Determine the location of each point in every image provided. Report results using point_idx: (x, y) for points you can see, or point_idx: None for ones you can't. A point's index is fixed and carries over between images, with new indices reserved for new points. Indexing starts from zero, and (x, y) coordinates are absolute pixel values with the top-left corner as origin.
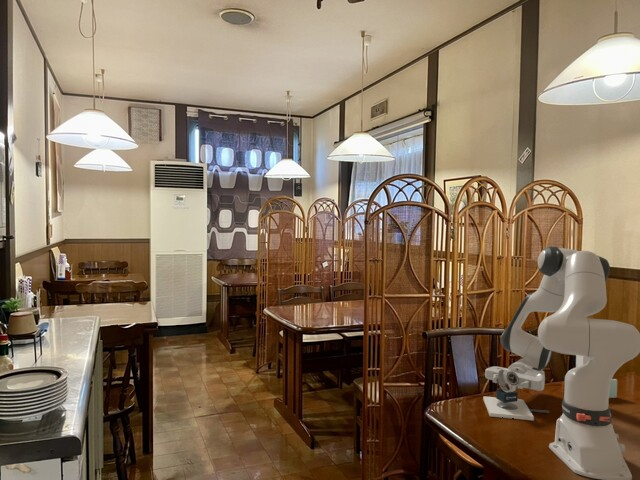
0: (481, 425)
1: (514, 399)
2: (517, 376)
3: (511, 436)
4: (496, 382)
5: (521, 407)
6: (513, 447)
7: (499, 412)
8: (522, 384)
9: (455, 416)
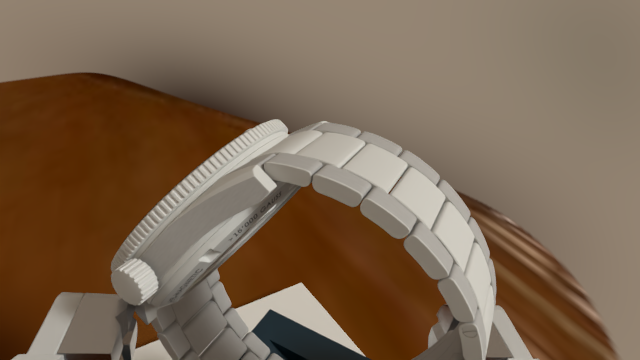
0: None
1: None
2: (135, 230)
3: (135, 183)
4: (430, 337)
5: None
6: (117, 135)
7: (259, 321)
8: (51, 315)
9: None
